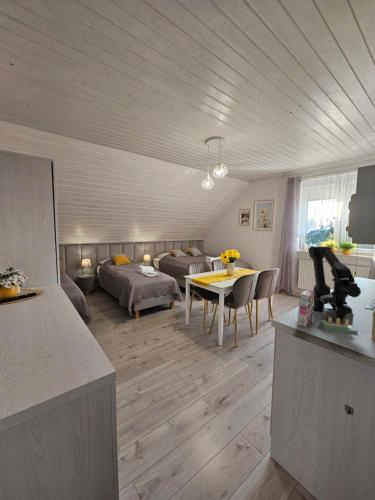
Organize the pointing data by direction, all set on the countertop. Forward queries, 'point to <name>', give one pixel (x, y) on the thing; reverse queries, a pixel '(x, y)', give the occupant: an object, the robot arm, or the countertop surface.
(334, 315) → the grey cinder block
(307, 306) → the candy bar box
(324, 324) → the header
